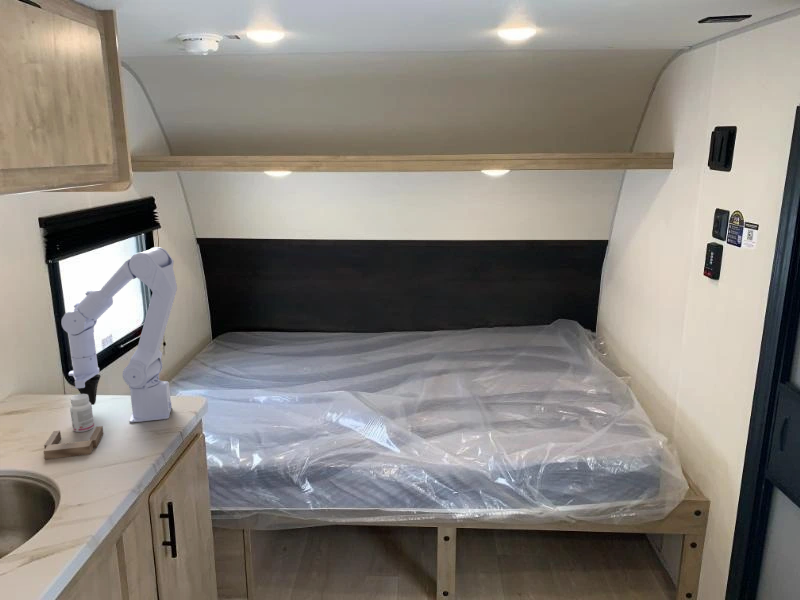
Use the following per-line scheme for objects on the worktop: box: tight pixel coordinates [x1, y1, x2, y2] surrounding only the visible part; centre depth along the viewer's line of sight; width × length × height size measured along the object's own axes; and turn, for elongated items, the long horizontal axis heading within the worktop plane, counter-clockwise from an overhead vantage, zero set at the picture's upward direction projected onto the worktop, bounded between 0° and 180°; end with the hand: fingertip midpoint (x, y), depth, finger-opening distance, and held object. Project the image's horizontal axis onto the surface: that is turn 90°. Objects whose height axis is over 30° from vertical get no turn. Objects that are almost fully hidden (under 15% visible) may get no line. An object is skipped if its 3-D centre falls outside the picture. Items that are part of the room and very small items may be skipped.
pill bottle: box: [69, 393, 95, 433], centre depth 152 cm, size 5×5×8 cm
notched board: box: [43, 425, 104, 460], centre depth 143 cm, size 11×10×2 cm
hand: (90, 404), depth 160 cm, fingers closed
